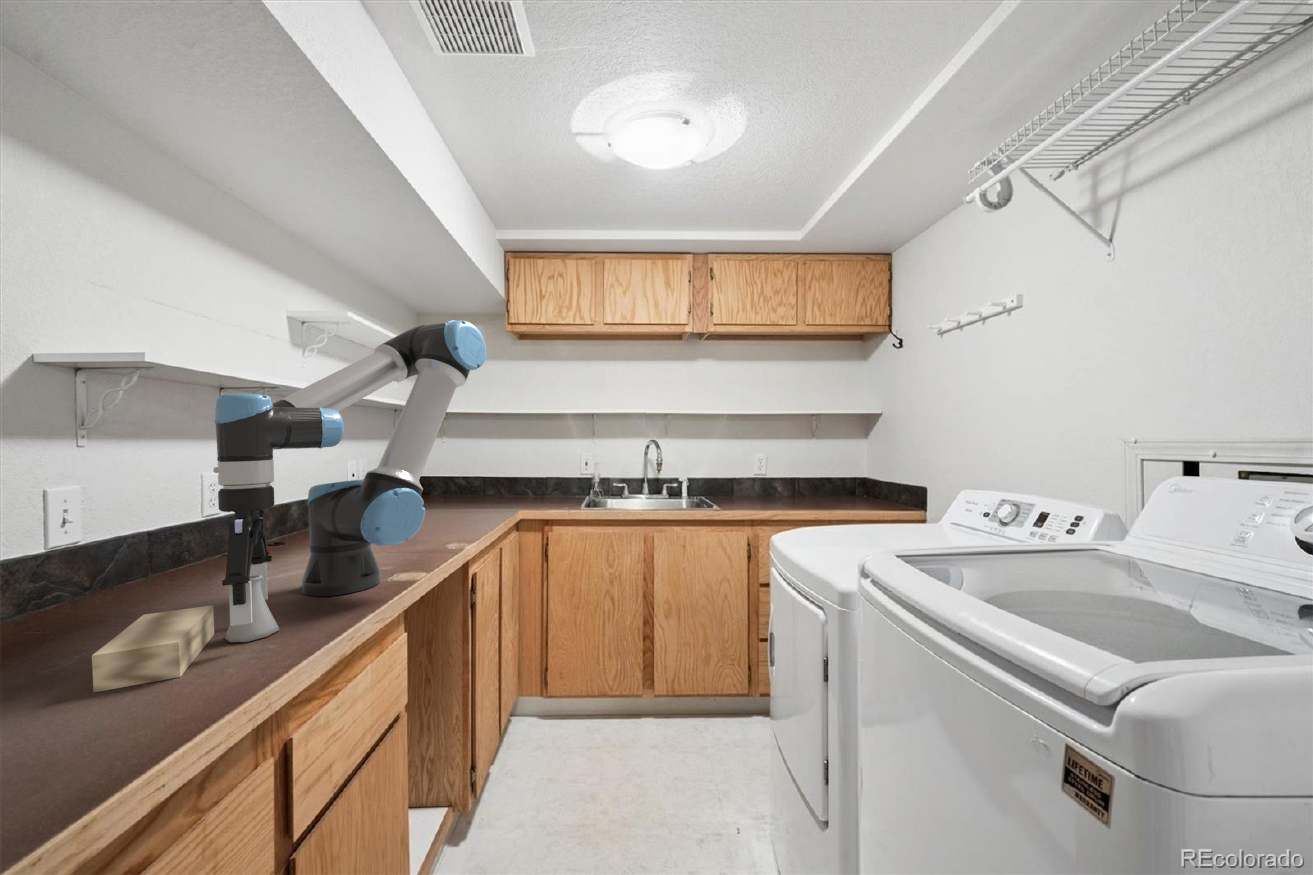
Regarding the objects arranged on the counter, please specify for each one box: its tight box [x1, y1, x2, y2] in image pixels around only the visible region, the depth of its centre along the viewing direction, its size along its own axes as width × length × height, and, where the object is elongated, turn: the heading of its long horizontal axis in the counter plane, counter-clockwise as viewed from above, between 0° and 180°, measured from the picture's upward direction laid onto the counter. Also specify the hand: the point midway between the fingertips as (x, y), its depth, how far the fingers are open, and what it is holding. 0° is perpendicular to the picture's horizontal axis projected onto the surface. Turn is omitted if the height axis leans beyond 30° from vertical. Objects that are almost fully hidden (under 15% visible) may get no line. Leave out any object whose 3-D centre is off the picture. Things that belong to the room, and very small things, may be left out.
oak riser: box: [91, 604, 215, 693], centre depth 83 cm, size 9×18×5 cm, turn 27°
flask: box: [224, 575, 281, 643], centre depth 92 cm, size 7×7×10 cm
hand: (250, 611), depth 92 cm, fingers open, 13 cm apart
